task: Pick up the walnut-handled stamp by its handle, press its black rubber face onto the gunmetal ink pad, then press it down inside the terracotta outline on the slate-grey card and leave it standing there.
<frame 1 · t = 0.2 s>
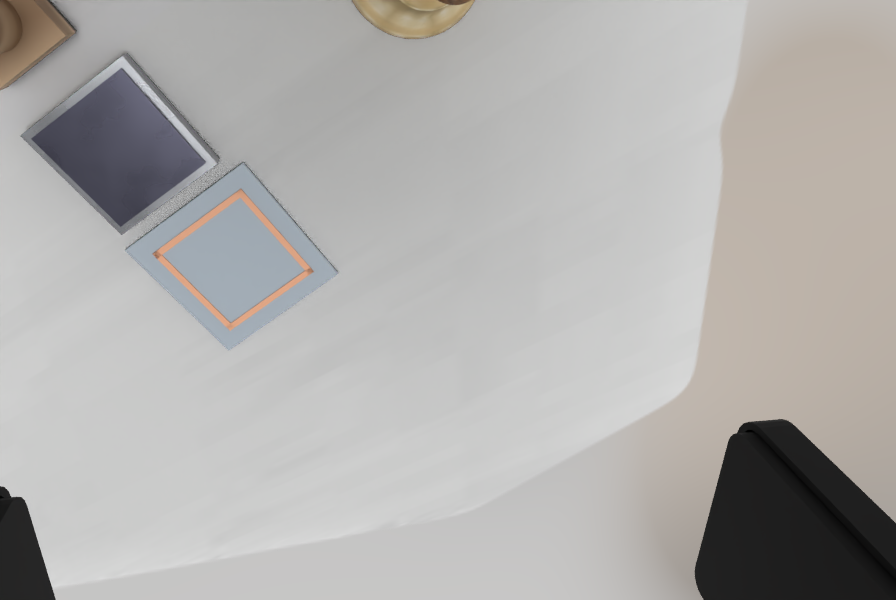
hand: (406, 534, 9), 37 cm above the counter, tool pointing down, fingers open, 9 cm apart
target card: (235, 260, 45), on the counter
ink pad: (126, 145, 41), on the counter
stamp: (7, 18, 37), on the counter
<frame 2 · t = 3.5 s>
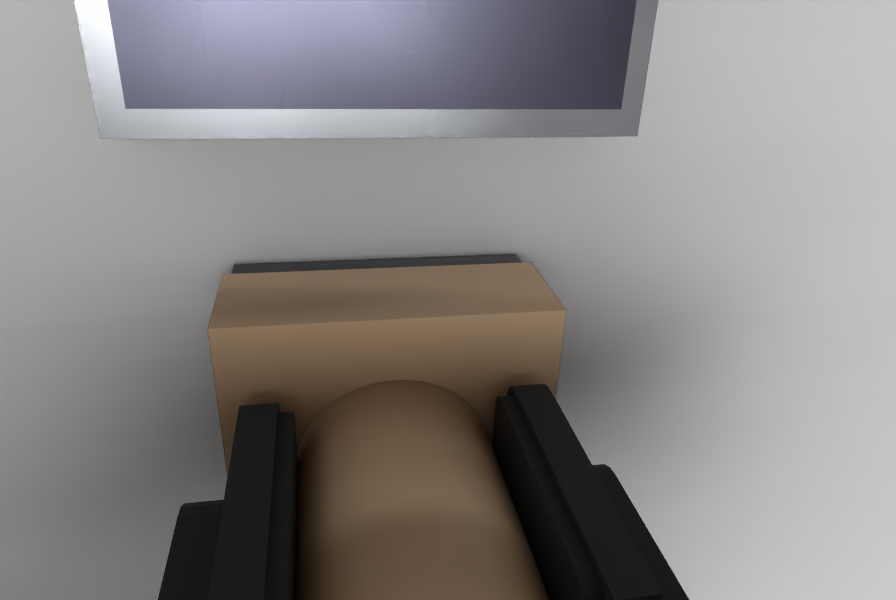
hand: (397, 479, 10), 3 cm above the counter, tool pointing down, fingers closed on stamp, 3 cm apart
stamp: (381, 378, 13), on the counter, touching gripper
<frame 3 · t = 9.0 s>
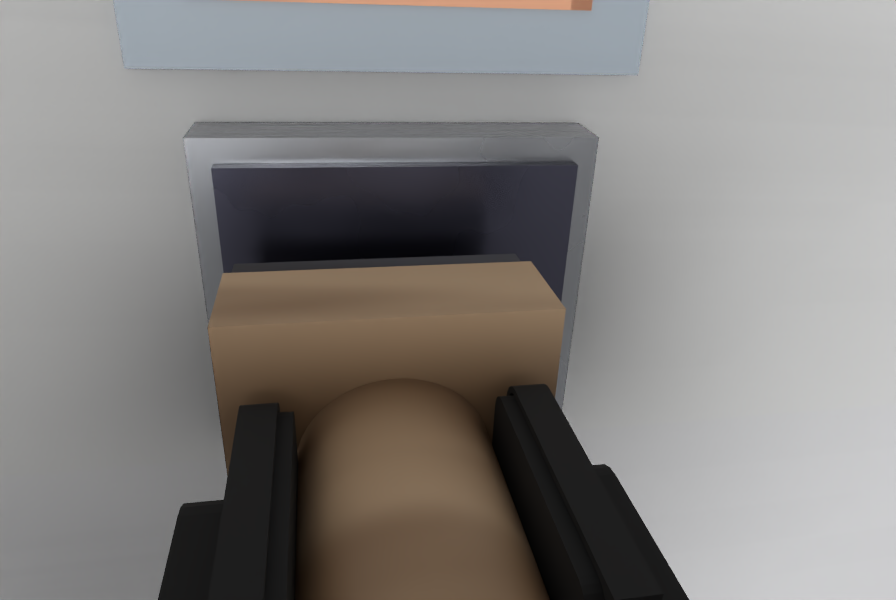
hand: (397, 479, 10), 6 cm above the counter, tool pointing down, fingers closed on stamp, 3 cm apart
ink pad: (394, 294, 15), on the counter
stamp: (380, 377, 13), point 3 cm above the counter, touching gripper
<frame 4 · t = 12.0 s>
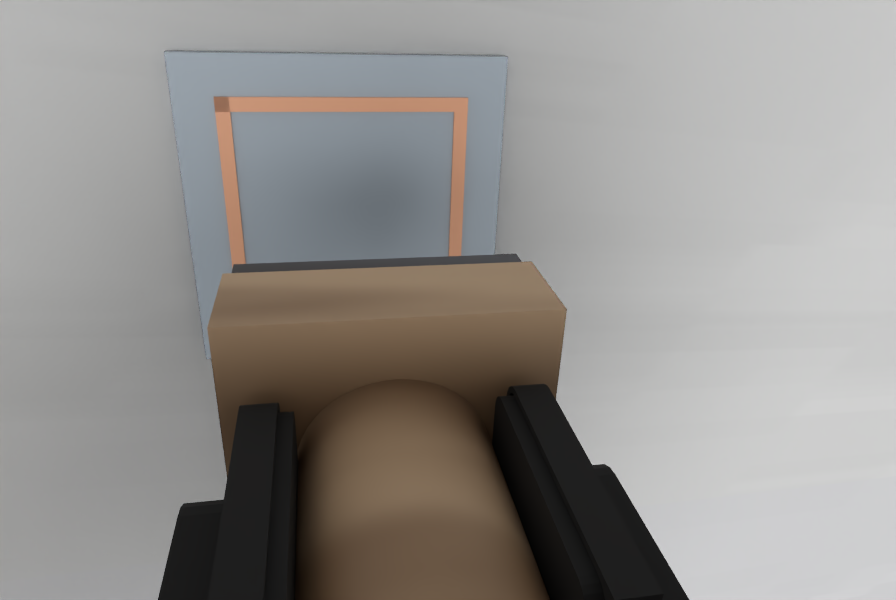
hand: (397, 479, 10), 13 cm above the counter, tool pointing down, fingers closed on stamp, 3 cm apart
target card: (347, 213, 22), on the counter
stamp: (381, 378, 13), point 10 cm above the counter, touching gripper
when the fingers open (3 cm above the counter, at t = 14.3 s): stamp stays where it is, resting on target card.
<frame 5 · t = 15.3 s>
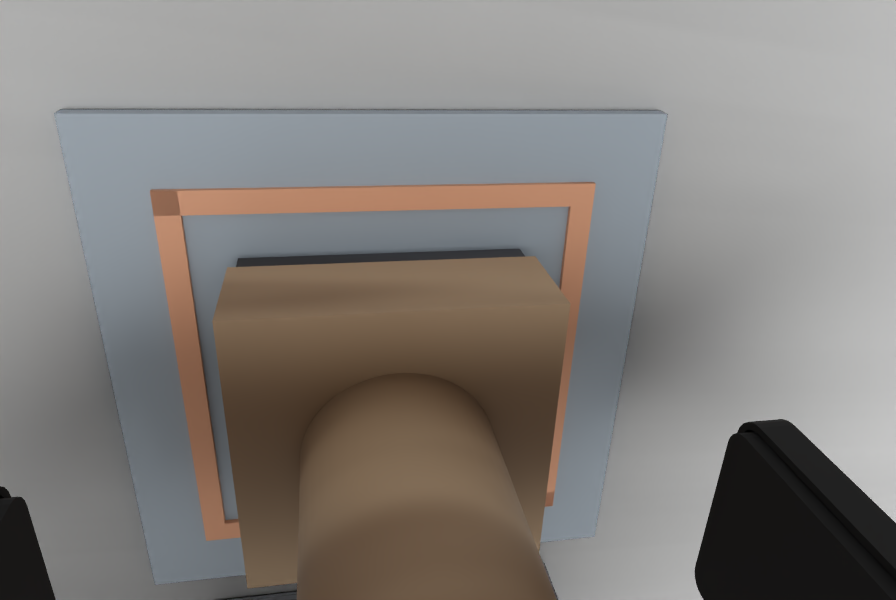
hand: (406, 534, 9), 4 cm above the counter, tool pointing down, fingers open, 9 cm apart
target card: (384, 364, 13), on the counter
stamp: (384, 372, 13), resting on target card
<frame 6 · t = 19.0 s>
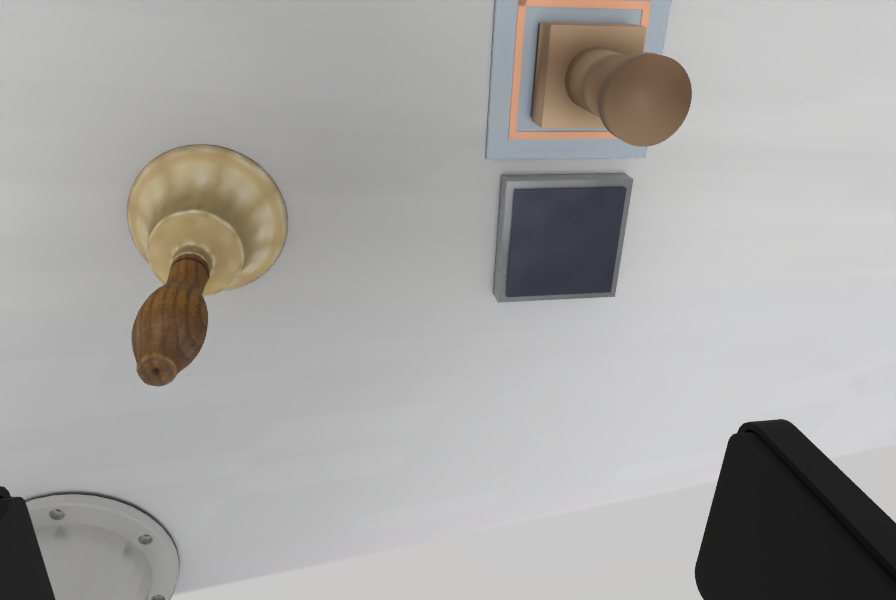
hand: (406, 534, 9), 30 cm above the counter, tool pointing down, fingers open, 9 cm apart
target card: (575, 71, 37), on the counter
hand bell: (210, 218, 38), on the counter
ink pad: (557, 235, 42), on the counter
stamp: (577, 71, 37), resting on target card
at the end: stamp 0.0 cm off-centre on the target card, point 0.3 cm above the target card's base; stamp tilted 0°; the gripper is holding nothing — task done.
